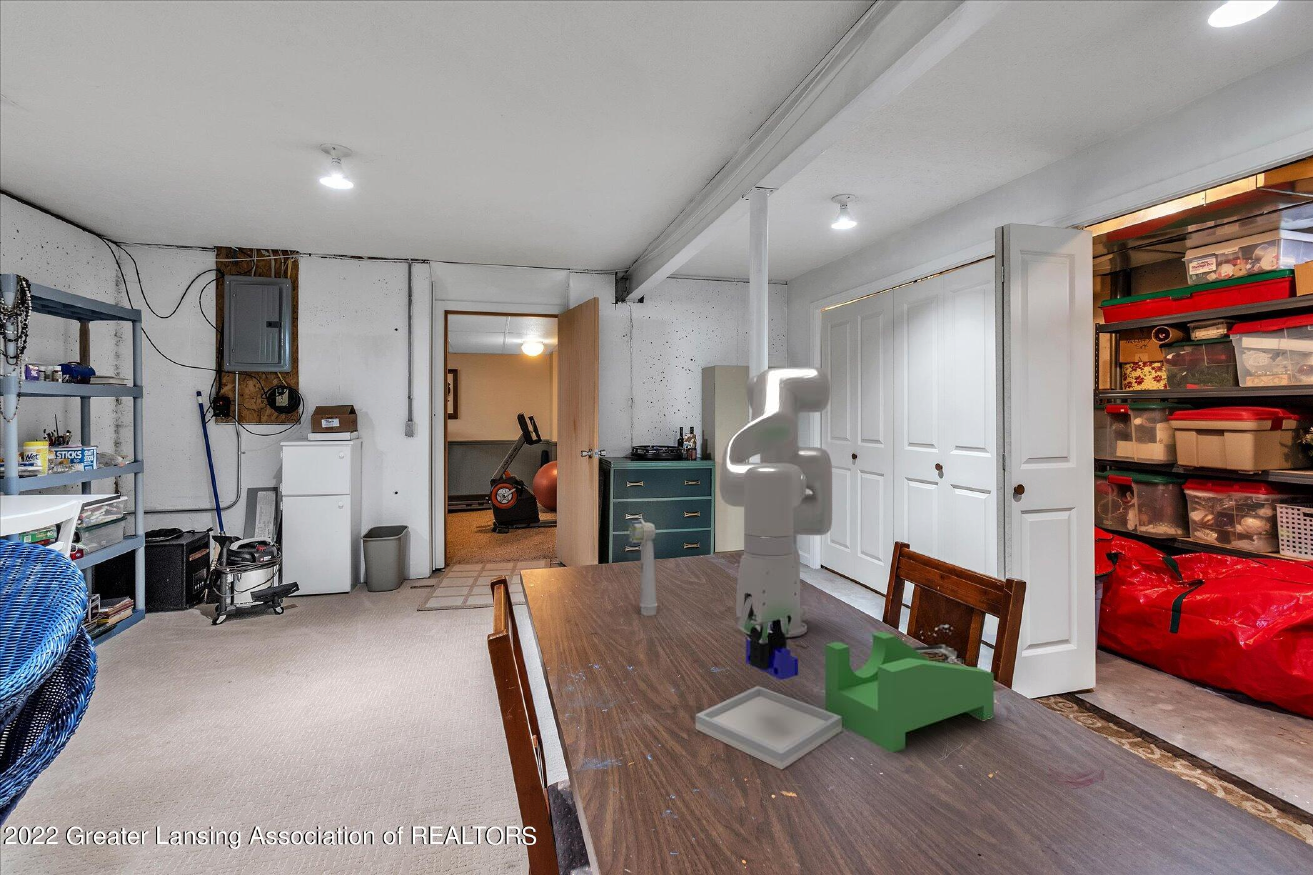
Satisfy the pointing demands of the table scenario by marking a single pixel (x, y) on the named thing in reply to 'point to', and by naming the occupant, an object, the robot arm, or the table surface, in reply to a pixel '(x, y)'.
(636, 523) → the toothbrush head
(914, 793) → the table surface
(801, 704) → the tray
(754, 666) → the robot arm
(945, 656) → the silver rectangular box
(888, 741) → the green cradle stand
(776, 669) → the cable holder
